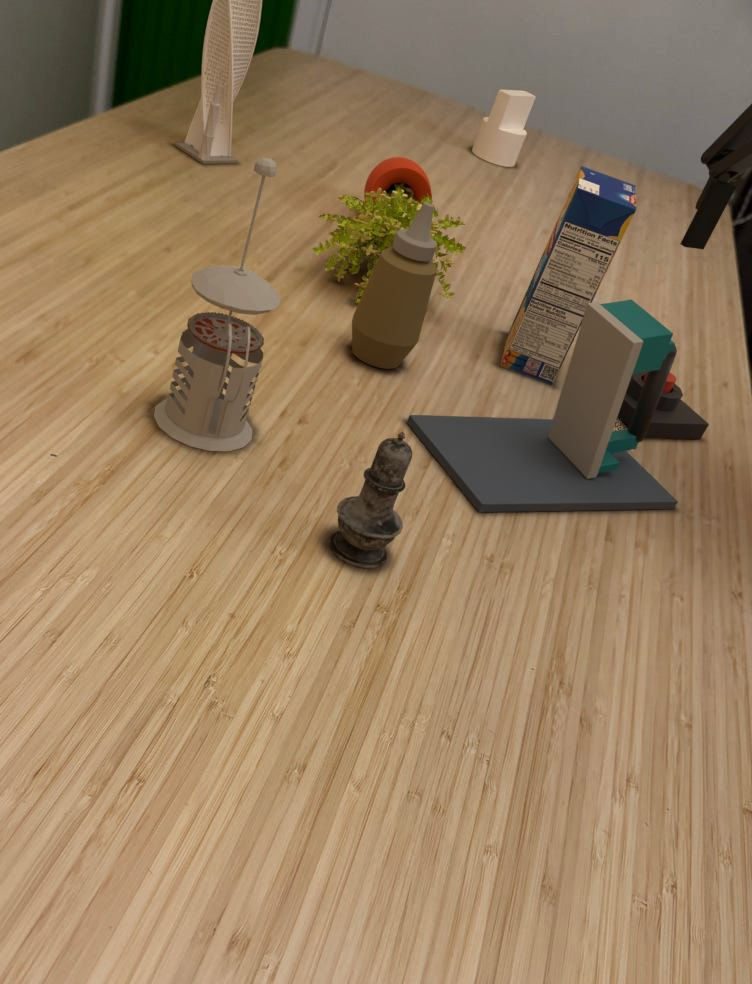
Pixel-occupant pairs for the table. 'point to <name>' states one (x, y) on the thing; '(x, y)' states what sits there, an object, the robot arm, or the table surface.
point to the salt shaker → (373, 508)
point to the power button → (669, 382)
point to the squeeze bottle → (396, 296)
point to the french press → (219, 355)
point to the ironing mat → (530, 468)
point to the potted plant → (386, 219)
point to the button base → (664, 413)
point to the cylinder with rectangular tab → (504, 128)
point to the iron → (610, 384)
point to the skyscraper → (222, 78)
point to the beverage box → (569, 274)
